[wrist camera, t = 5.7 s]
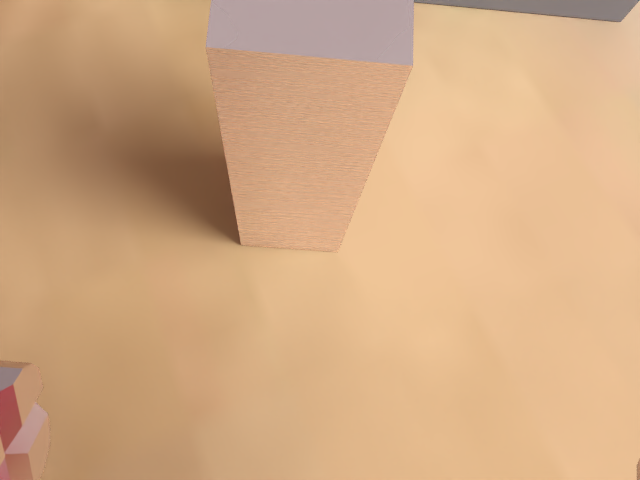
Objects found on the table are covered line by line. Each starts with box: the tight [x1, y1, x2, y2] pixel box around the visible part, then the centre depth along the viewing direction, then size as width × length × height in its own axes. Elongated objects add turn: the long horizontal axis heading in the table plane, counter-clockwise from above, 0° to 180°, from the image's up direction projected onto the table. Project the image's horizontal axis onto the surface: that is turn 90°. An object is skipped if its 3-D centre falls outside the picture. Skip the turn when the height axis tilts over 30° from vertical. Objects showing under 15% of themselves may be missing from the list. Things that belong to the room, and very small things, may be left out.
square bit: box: [206, 0, 414, 252], centre depth 16 cm, size 3×3×12 cm
